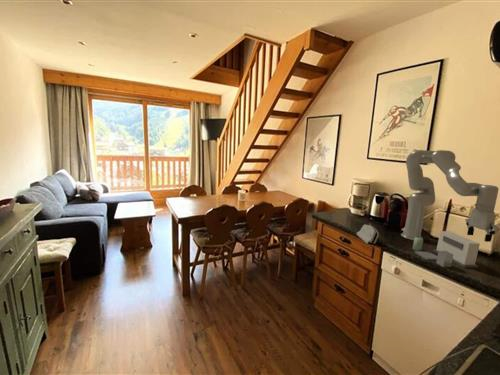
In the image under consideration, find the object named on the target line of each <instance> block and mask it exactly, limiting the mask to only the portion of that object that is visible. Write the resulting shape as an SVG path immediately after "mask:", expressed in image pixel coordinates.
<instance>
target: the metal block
mask: <svg viewBox="0 0 500 375" xmlns="http://www.w3.org/2000/svg"><path fill="white" fill-rule="evenodd" d="M436 256H437V260H435V263H436V264H437V265H439V266H441V267H442V268H451V267H452V265H453V264H452V263H453V262H452V259H453V254H451V253H449V252H447V251H439V252H438V254H437V255H436Z"/></svg>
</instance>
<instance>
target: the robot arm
mask: <svg viewBox="0 0 500 375" xmlns="http://www.w3.org/2000/svg"><path fill="white" fill-rule="evenodd" d="M456 158H457V157H456V154H455V153H454V152H453V151H451V150H443V149H439V150H426V149H417V150H413V151H411V152H410V153H409V154H408V156H407V157H406V160H405V165H406V170H407V178H408V185H409V188H410V190H411V191H415V192H413V193H411V194H410V195H409V196H408V199H407V200H408V201H407V202H408V204H407V205H408V207H407V208H408V209H407V213H406V220H405V225H404V227H403V228H401V231H403V232H402V233H400V236H401V237H403V238H404V239H407V240H410V241H414V238H415V237H418V238H422V239H423V240H424V238H423V236H421V235H422V230H423V229H422V228H423V225H424V224H423V223H424V219H425V209H424V207H431V206H433V205H434V204H435V203H436V191H435V184H434V181H433V179H431V178H430V177H427V176H424V173H423V167H422V166H421V164H434V165H435V166H437V168H439V170H440V171H441V172H442V173H443V174H444V175H445V179H446V182H447V184H448V186H449V187H450V188H452V190H453V191H454V192H455V193H456V194H457V195H459V196H461V197H476V203H474V208H473V209H472V210H471V213H470V215H469V218H465V225H466V226H467V233H466V235H467V236H474V233H475V228H476V229H478V230H483V231H485V236H484V242H486V243H487V242H488V243H490V242H492V239H493V236H495V235H496V234H497V233H498V232H499V231H500V228H499V227H498V226H497V225H496V224H495V222H496V212H495V208H496V203H497V198H498V195H499V187H498V186H496V185H492V184H491V185H490V184H483V183H479V182H467V181H466V180H465V179H464V178H463V177H462V176H461V174H460V170H461V169H462V167H461V165H460V164H459V163H458V162H456ZM416 191H418V192H416Z"/></svg>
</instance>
